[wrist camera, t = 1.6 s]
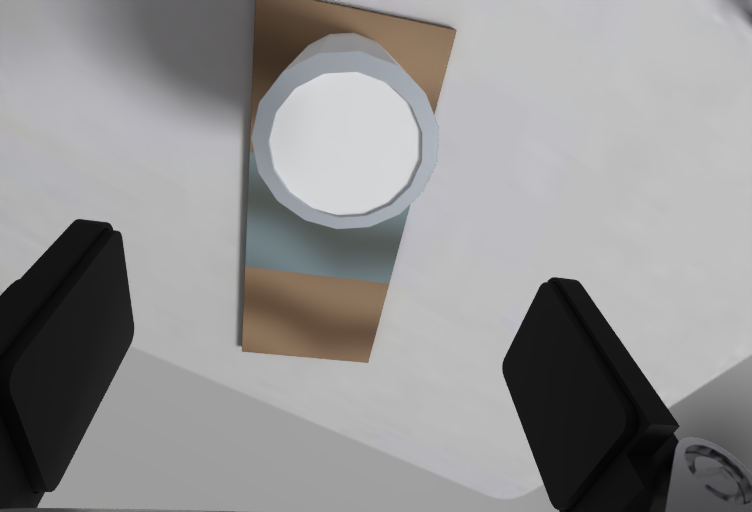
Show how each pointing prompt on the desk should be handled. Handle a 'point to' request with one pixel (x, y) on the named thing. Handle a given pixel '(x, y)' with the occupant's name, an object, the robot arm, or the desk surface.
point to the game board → (311, 240)
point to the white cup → (345, 134)
